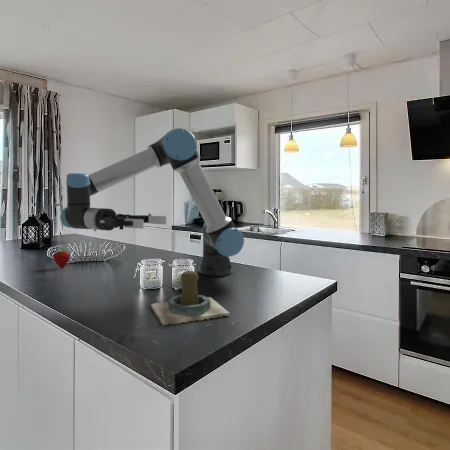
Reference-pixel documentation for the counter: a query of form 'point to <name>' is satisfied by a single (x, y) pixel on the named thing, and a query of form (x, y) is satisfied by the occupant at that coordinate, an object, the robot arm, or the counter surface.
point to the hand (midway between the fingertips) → (154, 222)
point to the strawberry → (61, 258)
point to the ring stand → (187, 310)
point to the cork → (189, 289)
